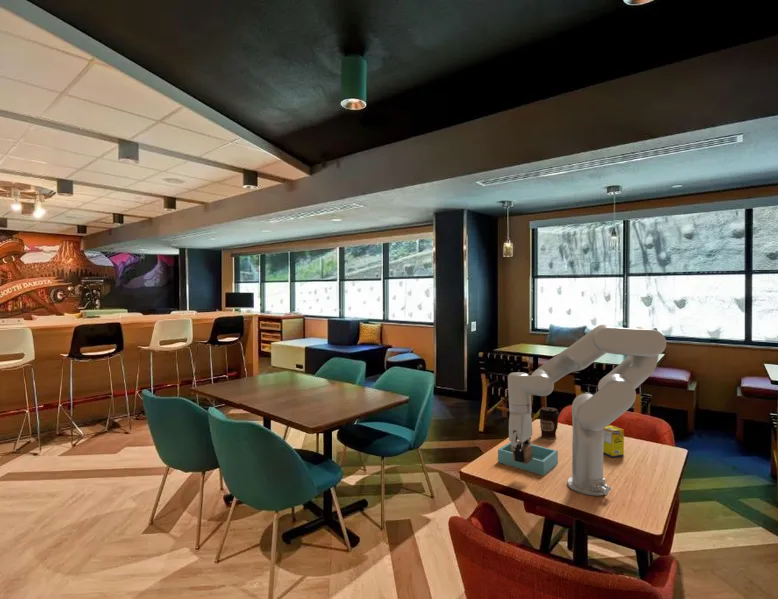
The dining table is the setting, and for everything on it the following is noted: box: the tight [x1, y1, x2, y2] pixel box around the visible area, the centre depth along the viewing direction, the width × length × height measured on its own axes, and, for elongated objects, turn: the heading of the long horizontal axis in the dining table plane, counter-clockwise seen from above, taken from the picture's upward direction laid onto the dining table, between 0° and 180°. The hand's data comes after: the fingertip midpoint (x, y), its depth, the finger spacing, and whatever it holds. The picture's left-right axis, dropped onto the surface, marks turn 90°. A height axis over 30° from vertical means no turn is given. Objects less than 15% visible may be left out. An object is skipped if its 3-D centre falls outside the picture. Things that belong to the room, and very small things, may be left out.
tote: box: [497, 441, 559, 476], centre depth 164 cm, size 18×14×5 cm
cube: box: [513, 443, 533, 464], centre depth 150 cm, size 5×5×5 cm
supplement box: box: [603, 424, 625, 459], centre depth 172 cm, size 6×6×11 cm
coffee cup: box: [538, 406, 560, 440], centre depth 192 cm, size 9×8×13 cm
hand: (522, 458), depth 150 cm, fingers closed on cube, 4 cm apart
